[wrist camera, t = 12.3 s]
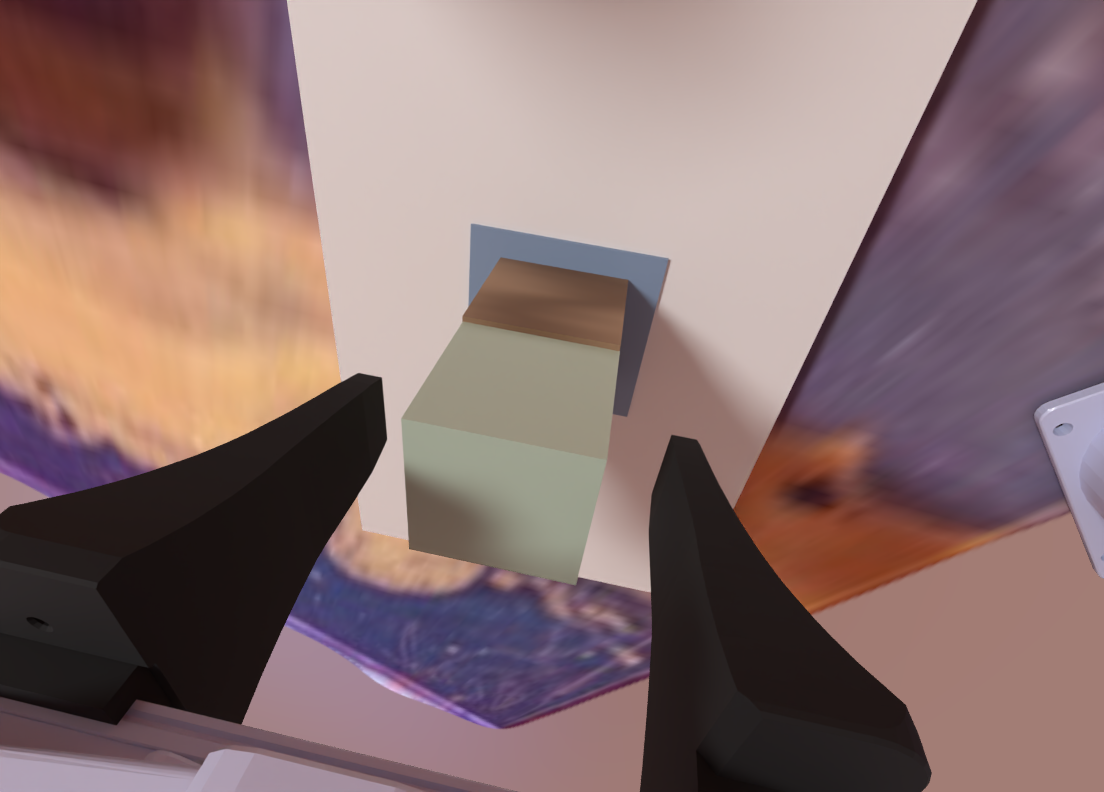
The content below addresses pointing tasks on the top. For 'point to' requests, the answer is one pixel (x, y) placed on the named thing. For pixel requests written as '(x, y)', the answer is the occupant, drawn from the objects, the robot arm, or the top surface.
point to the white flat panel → (609, 197)
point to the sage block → (509, 450)
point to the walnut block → (552, 303)
